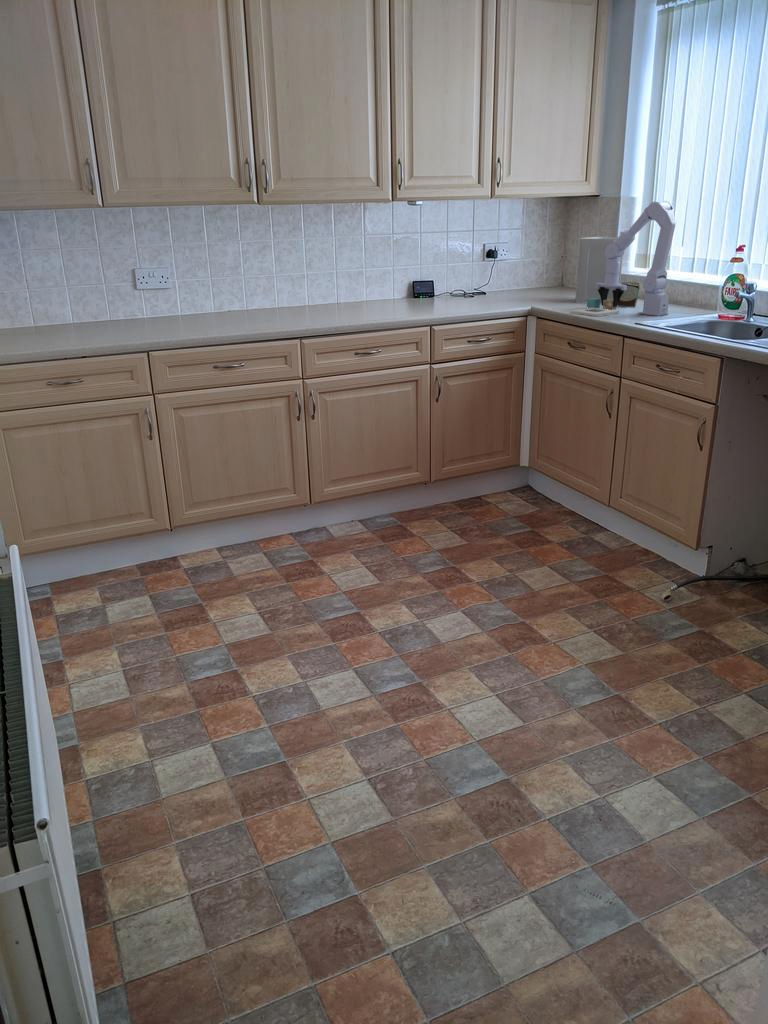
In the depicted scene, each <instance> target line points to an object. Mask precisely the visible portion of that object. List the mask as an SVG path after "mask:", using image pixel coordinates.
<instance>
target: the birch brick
mask: <svg viewBox="0 0 768 1024" xmlns="http://www.w3.org/2000/svg"><path fill="white" fill-rule="evenodd" d="M602 309H608V310H612V309H616V310H617V307H613V300H610V299H608V300H603V306H602Z"/></svg>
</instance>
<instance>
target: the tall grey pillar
mask: <svg viewBox="0 0 768 1024" xmlns="http://www.w3.org/2000/svg"><path fill="white" fill-rule="evenodd" d="M617 238H618V237H613V236H589V237H580V238H579V249H578V262H577V274H576V287H575V299H574V300H575V301H576V302H587V299H591V298H595V299H601V297H600V294H599V292H598V289H600V288H596V283H605V275H606V263H607V257H606V255H605V249H606V247H607V246H608V245H609V244H613V241H614V240H616V239H617ZM623 257H624V255H623V256H622V257H621V261H620V272H619V282H622V280H621V278H622V268H623ZM612 288H614V287H612ZM612 290H615V289H609V292H608V296H607V300H608V299H610V300H613V292H612ZM576 302H575V303H576ZM600 304H602V302H601V300H600Z"/></svg>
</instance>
